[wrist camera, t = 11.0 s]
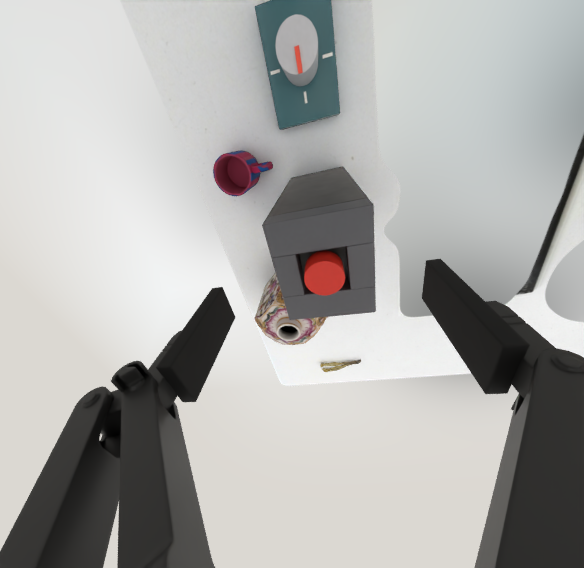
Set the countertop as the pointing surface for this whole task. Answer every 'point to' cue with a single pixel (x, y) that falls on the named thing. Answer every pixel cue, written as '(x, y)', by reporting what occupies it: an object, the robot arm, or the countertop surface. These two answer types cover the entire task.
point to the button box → (323, 242)
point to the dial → (298, 49)
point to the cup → (238, 172)
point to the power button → (324, 273)
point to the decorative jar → (283, 318)
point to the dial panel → (324, 86)
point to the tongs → (338, 366)
